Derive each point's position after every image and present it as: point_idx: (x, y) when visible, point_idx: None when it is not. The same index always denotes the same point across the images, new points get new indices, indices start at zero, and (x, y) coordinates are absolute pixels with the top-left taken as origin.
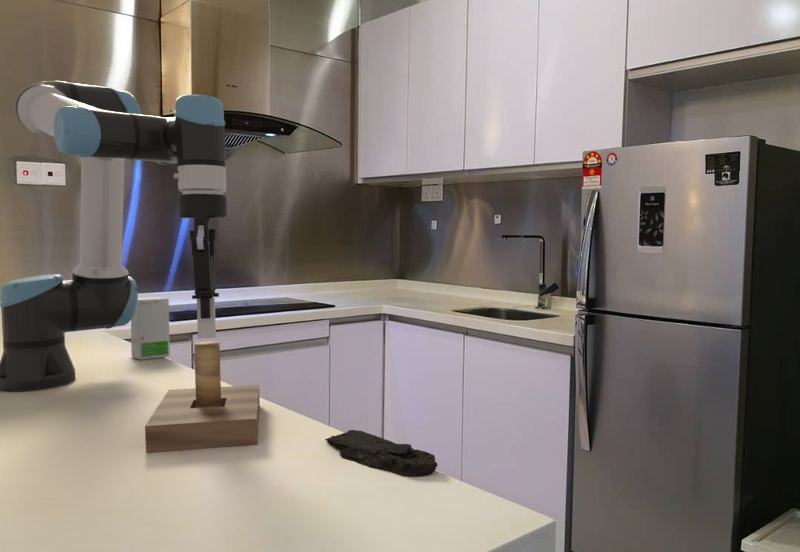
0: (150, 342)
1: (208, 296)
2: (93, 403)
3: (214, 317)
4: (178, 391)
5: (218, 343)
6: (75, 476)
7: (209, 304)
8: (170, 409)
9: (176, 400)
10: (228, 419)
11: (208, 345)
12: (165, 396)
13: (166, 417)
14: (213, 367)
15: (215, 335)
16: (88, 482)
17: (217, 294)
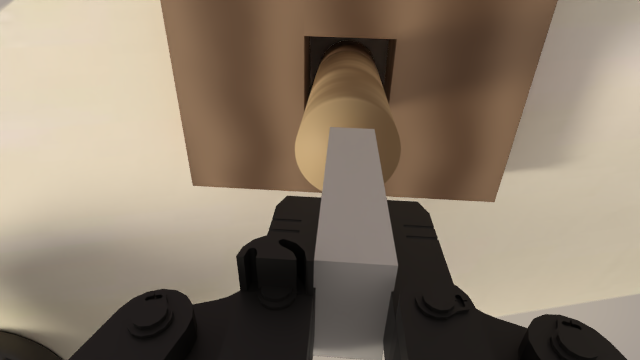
0: None
1: (511, 323)
2: (141, 285)
3: (381, 178)
4: (212, 163)
5: (360, 104)
6: (539, 251)
7: (438, 262)
8: None
9: None
10: (540, 22)
11: (399, 144)
12: (256, 186)
13: (446, 169)
14: (385, 97)
15: (348, 130)
16: (579, 233)
17: (309, 259)
